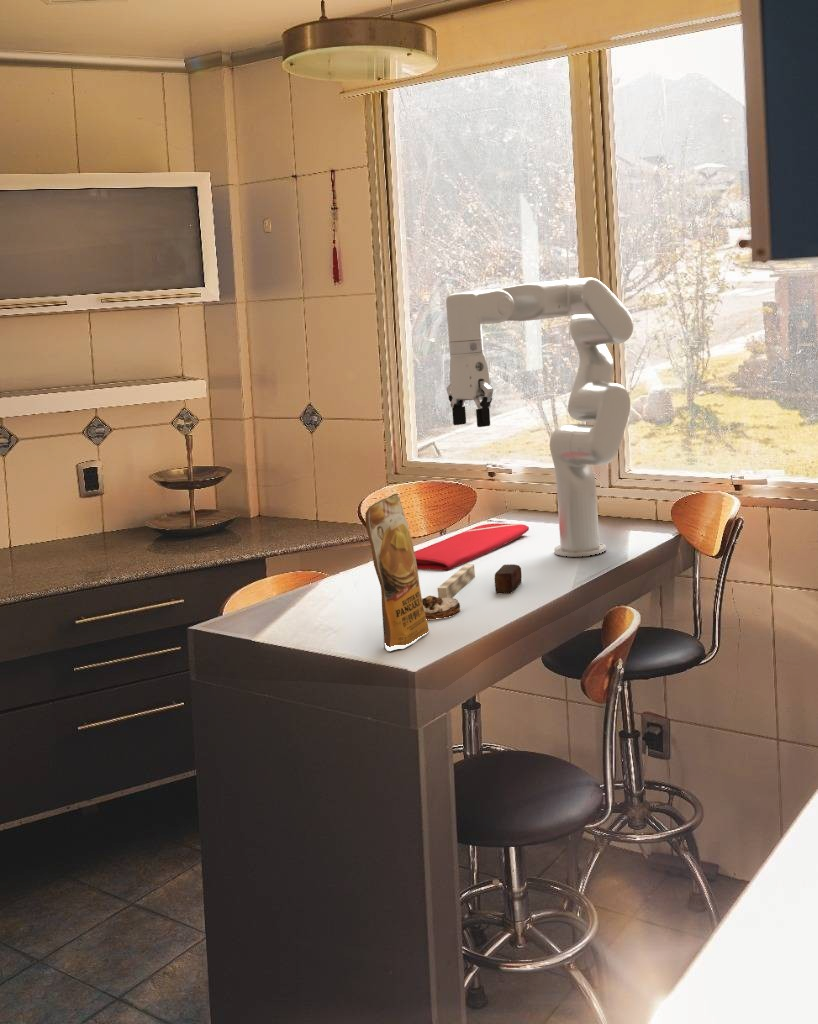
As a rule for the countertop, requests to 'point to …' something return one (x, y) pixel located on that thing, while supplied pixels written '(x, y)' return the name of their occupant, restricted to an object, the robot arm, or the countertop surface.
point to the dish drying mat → (467, 546)
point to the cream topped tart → (440, 607)
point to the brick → (507, 578)
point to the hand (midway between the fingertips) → (471, 425)
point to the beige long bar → (457, 581)
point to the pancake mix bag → (396, 572)
